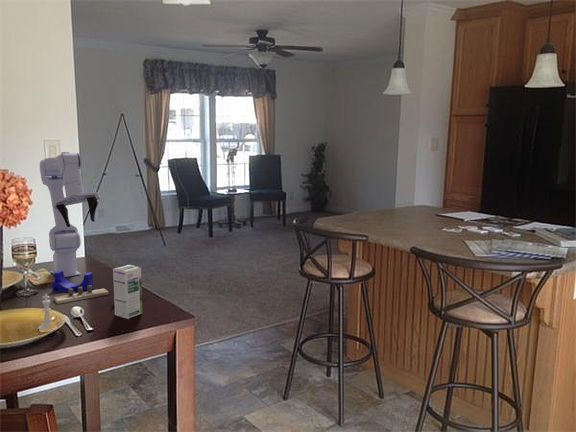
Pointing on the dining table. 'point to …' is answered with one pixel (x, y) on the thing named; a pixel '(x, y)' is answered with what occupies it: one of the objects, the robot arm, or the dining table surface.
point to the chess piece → (46, 314)
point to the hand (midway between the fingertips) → (80, 223)
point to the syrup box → (127, 291)
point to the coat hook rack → (80, 294)
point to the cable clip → (64, 284)
